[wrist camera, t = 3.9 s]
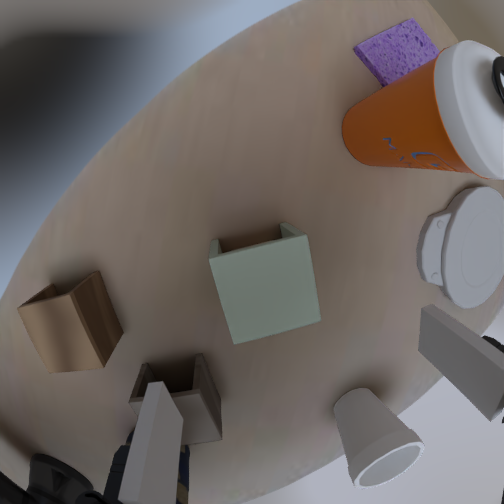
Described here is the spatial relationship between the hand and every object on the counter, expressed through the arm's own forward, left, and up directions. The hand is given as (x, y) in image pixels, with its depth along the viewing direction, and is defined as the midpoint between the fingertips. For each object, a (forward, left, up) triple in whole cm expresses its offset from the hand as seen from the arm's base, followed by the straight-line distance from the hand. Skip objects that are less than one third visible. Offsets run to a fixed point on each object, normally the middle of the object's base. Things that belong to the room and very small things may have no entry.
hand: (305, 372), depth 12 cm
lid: (+29, -5, -18) cm, 34 cm away
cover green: (0, 0, -17) cm, 17 cm away
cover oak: (-12, -12, -17) cm, 24 cm away
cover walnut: (-20, 0, -17) cm, 26 cm away
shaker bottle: (+15, +11, -17) cm, 25 cm away
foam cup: (+9, -24, -17) cm, 31 cm away
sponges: (+23, +21, -18) cm, 36 cm away
